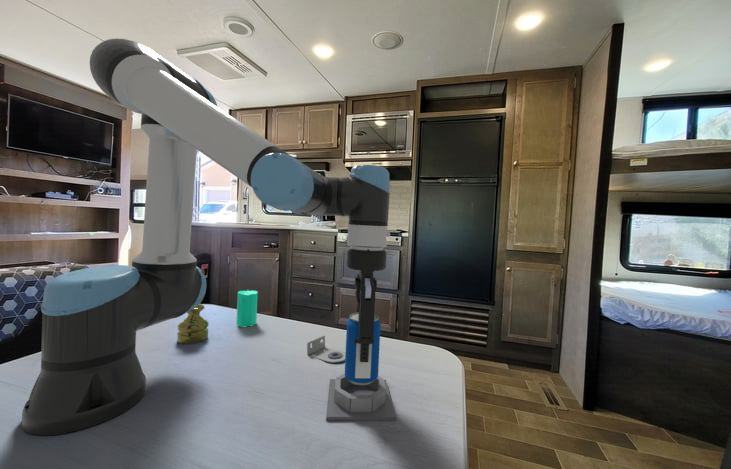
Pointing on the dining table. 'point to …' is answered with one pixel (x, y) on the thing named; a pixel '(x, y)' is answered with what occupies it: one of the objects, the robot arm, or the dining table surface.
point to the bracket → (328, 355)
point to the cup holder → (359, 400)
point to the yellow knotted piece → (193, 327)
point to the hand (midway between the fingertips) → (361, 367)
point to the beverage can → (351, 351)
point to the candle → (247, 308)
